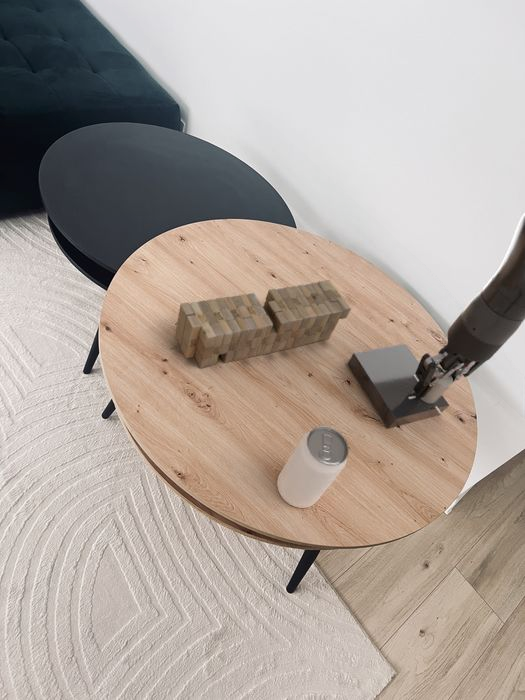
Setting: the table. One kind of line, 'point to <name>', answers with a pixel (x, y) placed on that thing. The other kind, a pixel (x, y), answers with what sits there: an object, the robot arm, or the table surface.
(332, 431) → the can
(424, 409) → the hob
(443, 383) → the knob
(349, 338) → the table surface
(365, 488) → the table surface
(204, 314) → the block tower
